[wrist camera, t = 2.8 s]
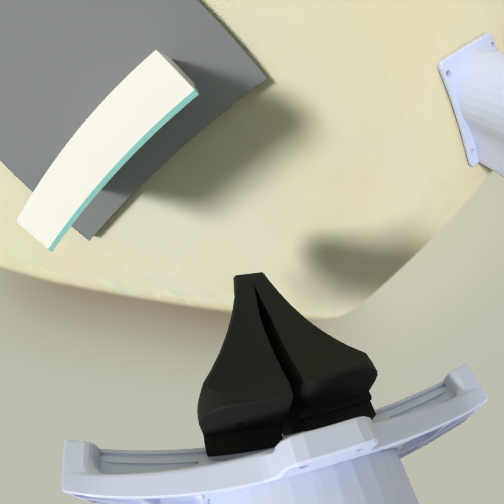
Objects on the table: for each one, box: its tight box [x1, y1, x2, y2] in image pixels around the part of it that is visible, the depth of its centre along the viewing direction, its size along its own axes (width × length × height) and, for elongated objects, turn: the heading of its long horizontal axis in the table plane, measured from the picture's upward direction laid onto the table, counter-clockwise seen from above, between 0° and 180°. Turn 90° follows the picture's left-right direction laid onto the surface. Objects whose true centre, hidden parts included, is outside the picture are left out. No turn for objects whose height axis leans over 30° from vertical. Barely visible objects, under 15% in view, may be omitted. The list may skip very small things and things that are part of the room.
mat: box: [0, 0, 267, 241], centre depth 10 cm, size 18×14×1 cm
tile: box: [16, 50, 199, 251], centre depth 11 cm, size 2×8×6 cm, turn 127°
